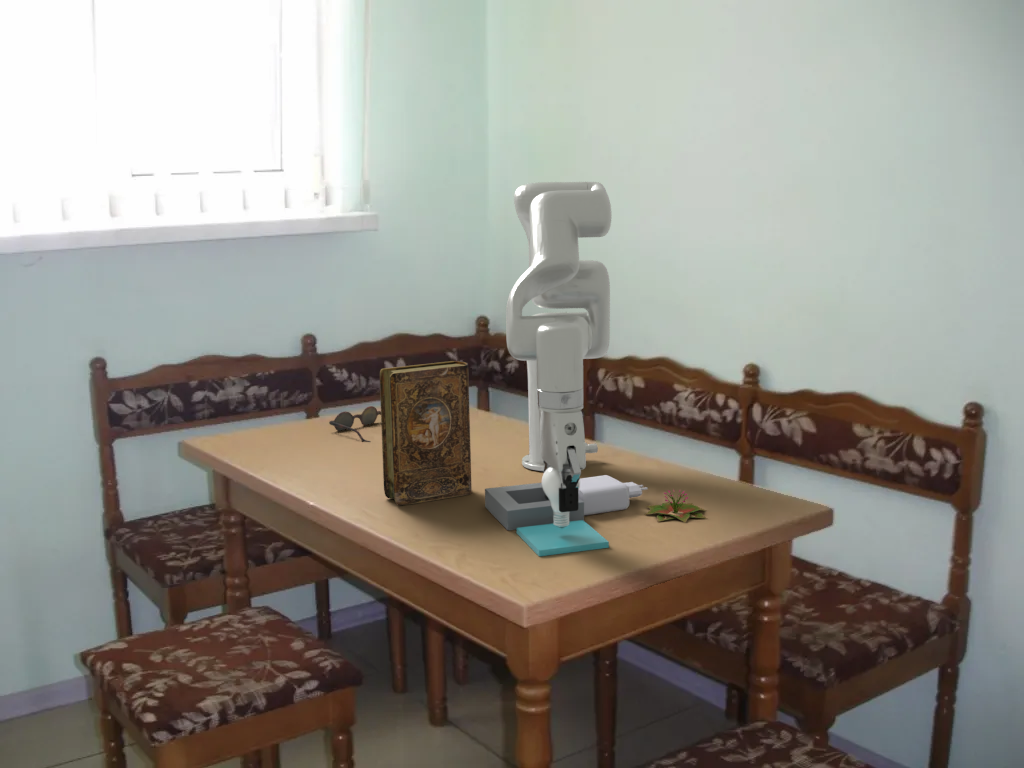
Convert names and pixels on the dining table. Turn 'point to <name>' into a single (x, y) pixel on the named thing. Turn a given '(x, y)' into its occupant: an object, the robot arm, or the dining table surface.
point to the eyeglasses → (347, 419)
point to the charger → (606, 494)
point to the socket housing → (524, 506)
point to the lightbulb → (555, 495)
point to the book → (425, 432)
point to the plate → (562, 538)
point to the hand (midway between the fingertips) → (561, 503)
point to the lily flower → (676, 509)
